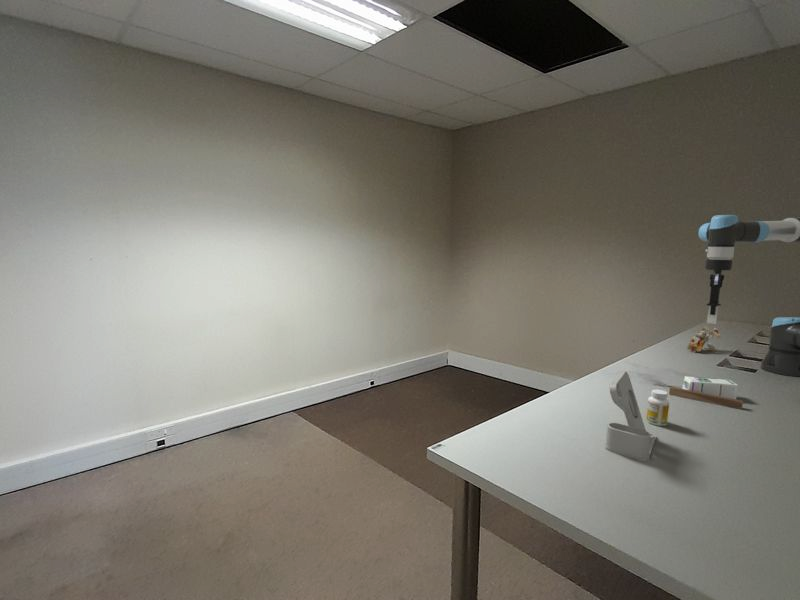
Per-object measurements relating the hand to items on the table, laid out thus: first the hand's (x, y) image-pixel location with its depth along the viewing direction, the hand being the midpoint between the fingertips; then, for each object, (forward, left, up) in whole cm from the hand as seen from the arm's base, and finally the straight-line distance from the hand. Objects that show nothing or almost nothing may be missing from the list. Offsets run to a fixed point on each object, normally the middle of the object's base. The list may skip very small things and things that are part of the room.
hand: (711, 323), depth 150 cm
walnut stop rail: (+17, +1, -24) cm, 30 cm away
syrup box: (+7, +9, -22) cm, 24 cm away
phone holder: (+66, -12, -25) cm, 72 cm away
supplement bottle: (+47, -9, -25) cm, 54 cm away
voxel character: (-60, -3, -25) cm, 65 cm away
